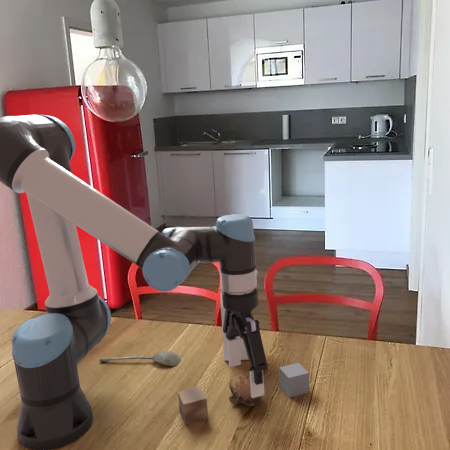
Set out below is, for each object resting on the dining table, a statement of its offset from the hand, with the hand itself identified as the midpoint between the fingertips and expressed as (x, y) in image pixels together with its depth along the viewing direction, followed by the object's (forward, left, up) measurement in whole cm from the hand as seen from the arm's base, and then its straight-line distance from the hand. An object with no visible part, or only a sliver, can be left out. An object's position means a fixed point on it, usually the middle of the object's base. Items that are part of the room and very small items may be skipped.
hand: (245, 379), depth 107 cm
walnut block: (-12, 0, -6) cm, 13 cm away
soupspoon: (-19, +29, -6) cm, 35 cm away
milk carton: (+6, +21, -6) cm, 23 cm away
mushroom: (0, 0, -6) cm, 6 cm away
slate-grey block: (+12, 0, -6) cm, 13 cm away
